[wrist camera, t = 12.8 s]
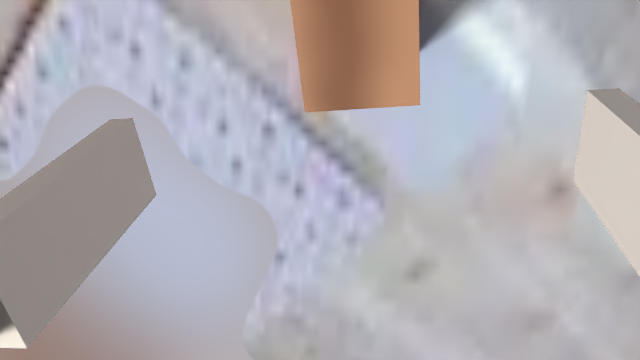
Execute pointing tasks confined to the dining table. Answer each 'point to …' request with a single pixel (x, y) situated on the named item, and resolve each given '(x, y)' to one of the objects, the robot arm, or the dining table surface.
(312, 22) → the wooden block
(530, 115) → the dining table surface
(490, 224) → the dining table surface
